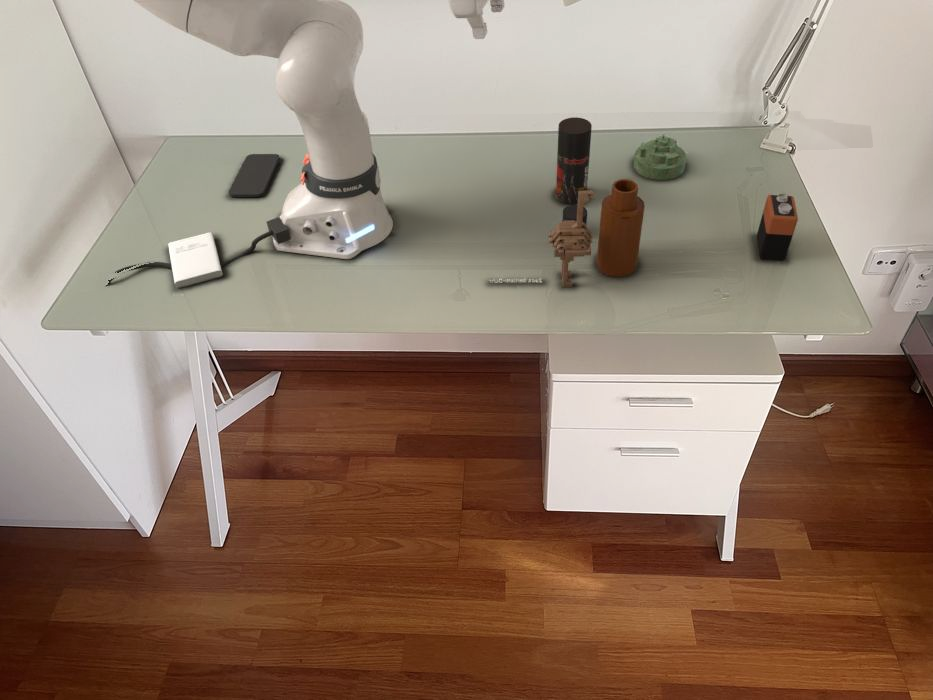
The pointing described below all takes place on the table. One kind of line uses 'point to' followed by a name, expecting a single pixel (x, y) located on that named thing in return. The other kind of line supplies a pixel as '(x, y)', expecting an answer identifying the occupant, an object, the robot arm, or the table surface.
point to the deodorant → (572, 159)
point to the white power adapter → (194, 260)
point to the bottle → (620, 229)
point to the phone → (254, 175)
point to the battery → (776, 227)
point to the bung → (573, 213)
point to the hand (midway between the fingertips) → (489, 23)
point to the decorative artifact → (660, 159)
